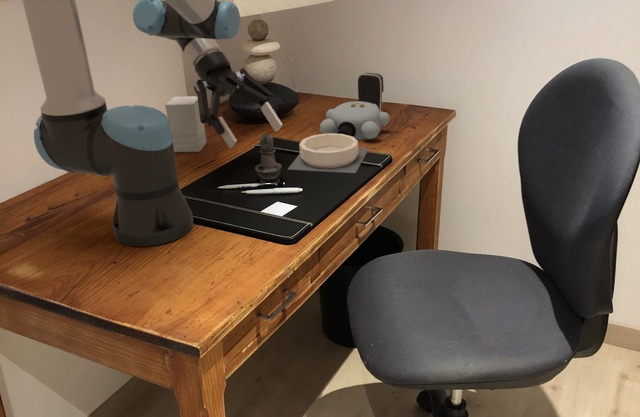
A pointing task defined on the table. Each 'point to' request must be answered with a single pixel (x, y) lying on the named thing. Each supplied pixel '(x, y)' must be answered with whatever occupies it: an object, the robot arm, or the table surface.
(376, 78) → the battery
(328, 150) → the bowl
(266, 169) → the grey upright statuette
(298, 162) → the mat
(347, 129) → the grey rounded piece
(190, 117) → the supplement box
